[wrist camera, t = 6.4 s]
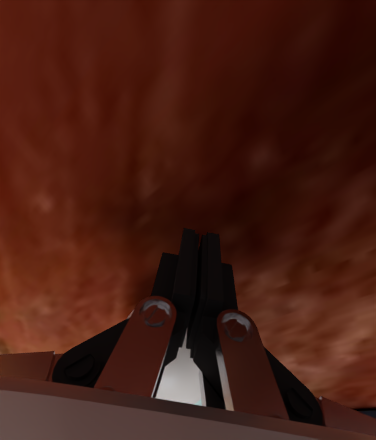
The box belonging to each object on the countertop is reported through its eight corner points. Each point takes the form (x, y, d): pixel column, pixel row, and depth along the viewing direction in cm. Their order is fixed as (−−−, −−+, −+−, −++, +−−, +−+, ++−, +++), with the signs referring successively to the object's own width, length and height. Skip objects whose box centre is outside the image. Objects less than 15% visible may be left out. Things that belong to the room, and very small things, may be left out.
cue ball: (159, 468, 11) (171, 372, 16) (255, 397, 10) (233, 322, 16) (71, 383, 10) (114, 314, 16) (166, 303, 10) (176, 261, 15)
